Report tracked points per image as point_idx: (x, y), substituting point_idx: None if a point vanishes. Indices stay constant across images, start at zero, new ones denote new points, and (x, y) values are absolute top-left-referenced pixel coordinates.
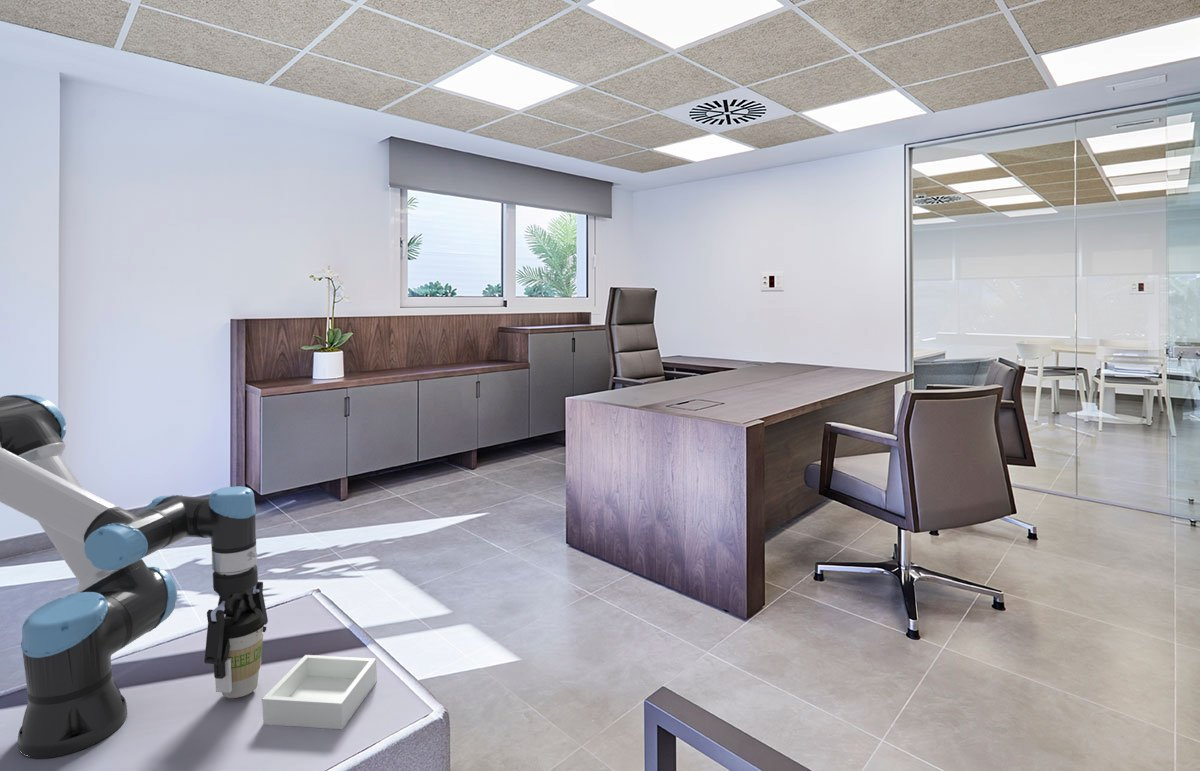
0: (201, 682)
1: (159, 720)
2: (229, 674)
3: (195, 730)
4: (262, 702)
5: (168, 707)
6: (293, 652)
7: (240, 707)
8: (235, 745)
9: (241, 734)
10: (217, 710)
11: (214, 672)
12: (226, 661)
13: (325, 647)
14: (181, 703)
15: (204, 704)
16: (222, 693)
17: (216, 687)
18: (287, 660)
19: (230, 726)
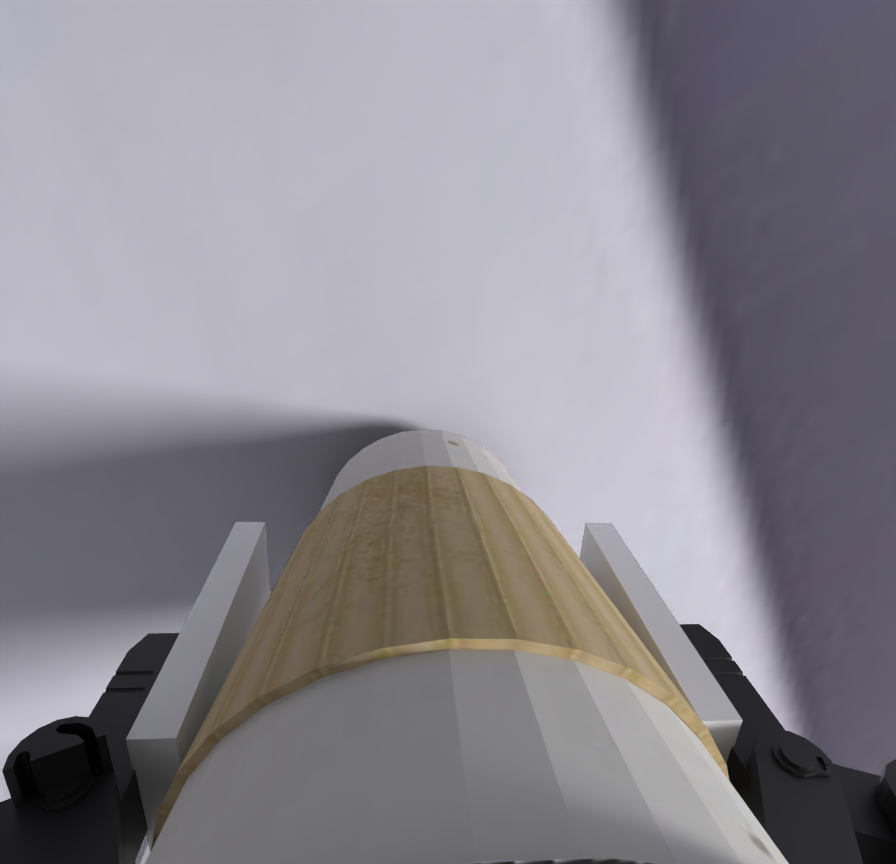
0: (540, 177)
1: (85, 172)
2: None
3: (63, 468)
4: (145, 853)
5: (230, 131)
6: (833, 556)
7: None
8: (21, 708)
9: (100, 690)
10: (255, 474)
11: (110, 685)
12: (149, 830)
13: (851, 678)
14: (288, 199)
15: (299, 363)
16: (342, 470)
17: (228, 544)
18: (750, 567)
19: (142, 614)
